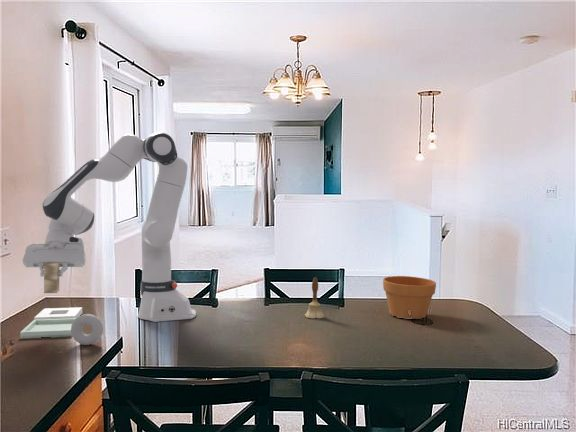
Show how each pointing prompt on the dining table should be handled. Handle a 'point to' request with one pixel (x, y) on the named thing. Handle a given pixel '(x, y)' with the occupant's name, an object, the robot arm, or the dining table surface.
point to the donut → (91, 321)
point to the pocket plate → (59, 313)
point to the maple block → (51, 278)
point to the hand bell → (314, 303)
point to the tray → (48, 328)
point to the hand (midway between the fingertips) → (51, 275)
